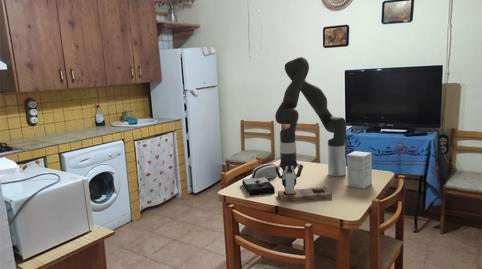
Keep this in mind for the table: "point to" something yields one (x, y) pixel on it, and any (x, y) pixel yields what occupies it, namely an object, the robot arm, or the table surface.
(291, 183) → the steel peg
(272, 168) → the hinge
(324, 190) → the hole board
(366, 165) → the supplement box
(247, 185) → the multimeter
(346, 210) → the table surface
